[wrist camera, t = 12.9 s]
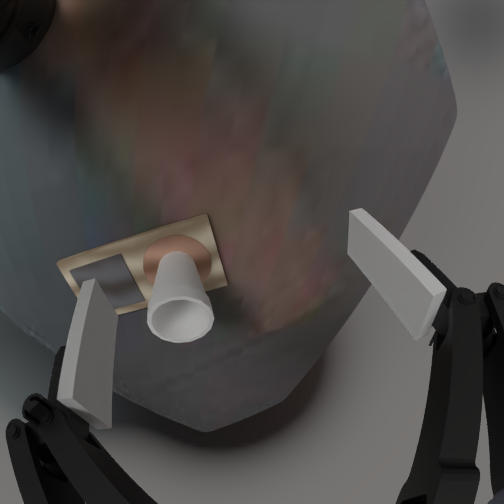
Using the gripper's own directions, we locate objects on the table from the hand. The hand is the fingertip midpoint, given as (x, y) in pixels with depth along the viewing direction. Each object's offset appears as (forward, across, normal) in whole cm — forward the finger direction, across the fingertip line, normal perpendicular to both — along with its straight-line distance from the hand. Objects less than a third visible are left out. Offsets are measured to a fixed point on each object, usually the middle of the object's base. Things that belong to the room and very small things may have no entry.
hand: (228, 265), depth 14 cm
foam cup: (+30, -8, -21) cm, 37 cm away
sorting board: (+31, -15, -21) cm, 41 cm away
